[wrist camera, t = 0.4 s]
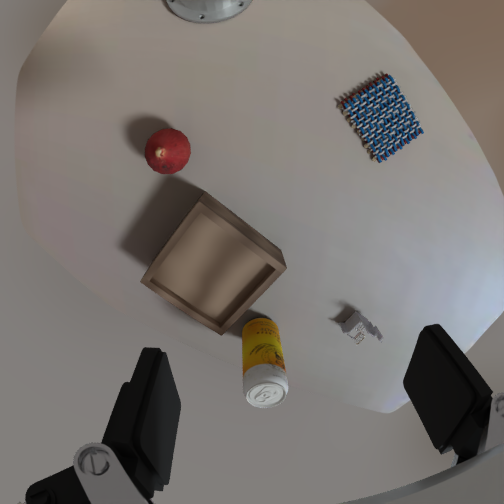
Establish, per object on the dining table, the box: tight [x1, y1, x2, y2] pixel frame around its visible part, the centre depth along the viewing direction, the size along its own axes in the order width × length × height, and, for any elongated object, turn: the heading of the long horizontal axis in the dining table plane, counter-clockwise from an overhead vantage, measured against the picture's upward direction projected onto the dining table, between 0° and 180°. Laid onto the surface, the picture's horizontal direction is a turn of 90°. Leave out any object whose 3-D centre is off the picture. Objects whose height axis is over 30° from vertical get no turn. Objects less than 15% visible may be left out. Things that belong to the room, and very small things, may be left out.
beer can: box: [242, 318, 288, 408], centre depth 43 cm, size 6×6×15 cm
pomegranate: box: [145, 128, 191, 174], centre depth 35 cm, size 6×6×8 cm
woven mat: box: [338, 74, 424, 163], centre depth 37 cm, size 10×11×2 cm
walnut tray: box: [140, 191, 287, 336], centre depth 42 cm, size 14×14×6 cm
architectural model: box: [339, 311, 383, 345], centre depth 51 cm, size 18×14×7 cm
